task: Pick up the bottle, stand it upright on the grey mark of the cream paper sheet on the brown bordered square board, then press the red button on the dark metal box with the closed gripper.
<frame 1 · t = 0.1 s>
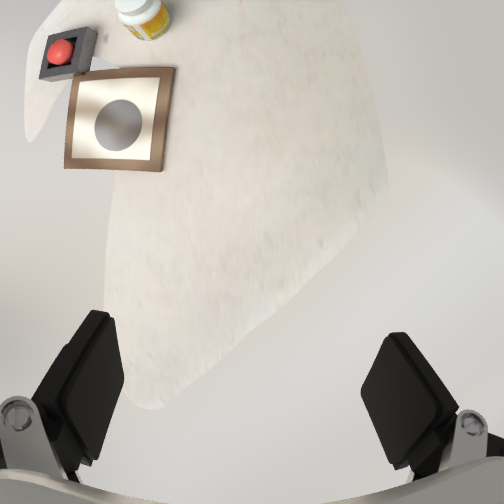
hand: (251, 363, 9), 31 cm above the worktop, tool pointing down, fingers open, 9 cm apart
button housing: (73, 57, 29), on the worktop
done button: (61, 52, 25), point 3 cm above the worktop, slide at 0.0 cm
brown bordered square board: (115, 118, 33), on the worktop
supplement bottle: (152, 25, 29), on the worktop
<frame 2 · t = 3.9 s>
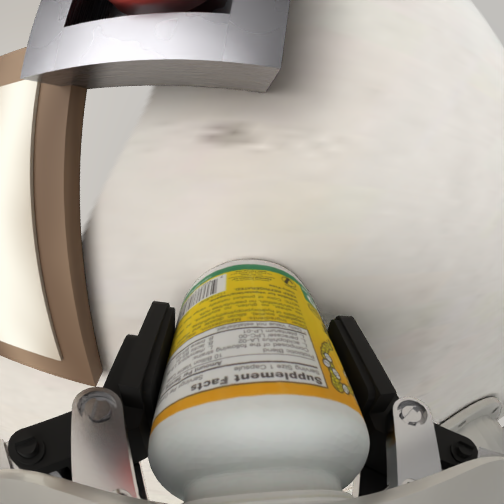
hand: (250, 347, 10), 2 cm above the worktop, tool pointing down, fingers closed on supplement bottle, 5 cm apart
button housing: (179, 1, 7), on the worktop
supplement bottle: (248, 313, 12), on the worktop, touching gripper
when the fingers open (5 cm above the worktop, at t = 8.5 s): supplement bottle drops 2 cm, resting on brown bordered square board.
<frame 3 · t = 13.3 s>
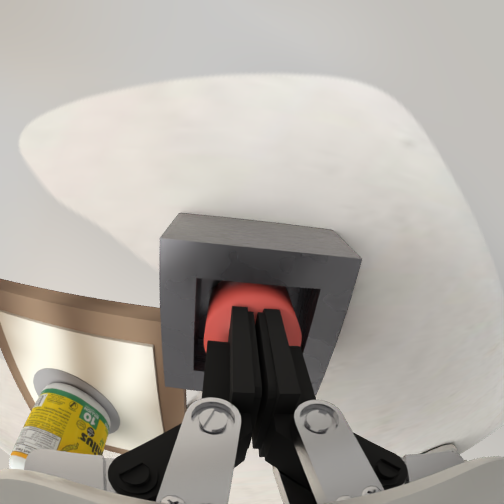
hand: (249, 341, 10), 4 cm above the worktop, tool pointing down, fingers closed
button housing: (248, 291, 14), on the worktop
done button: (251, 324, 12), point 3 cm above the worktop, slide at 0.7 cm, touching gripper
brown bordered square board: (89, 385, 16), on the worktop
supplement bottle: (78, 405, 15), point 1 cm above the worktop, touching brown bordered square board
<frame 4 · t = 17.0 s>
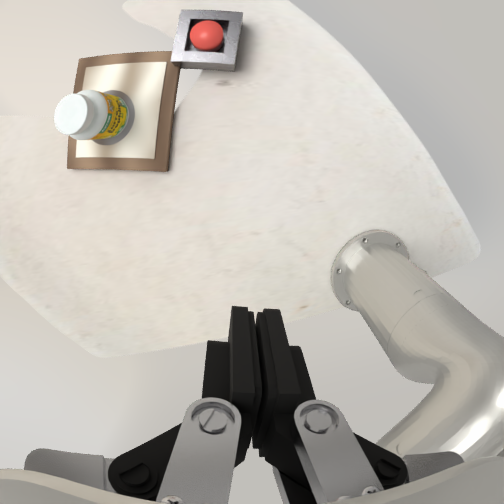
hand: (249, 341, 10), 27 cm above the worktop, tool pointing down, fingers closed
button housing: (209, 44, 28), on the worktop
done button: (207, 37, 26), point 3 cm above the worktop, slide at 0.8 cm
brown bordered square board: (121, 110, 30), on the worktop
supplement bottle: (110, 117, 29), point 1 cm above the worktop, touching brown bordered square board
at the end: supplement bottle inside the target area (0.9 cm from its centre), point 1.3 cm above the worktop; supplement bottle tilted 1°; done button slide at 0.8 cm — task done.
